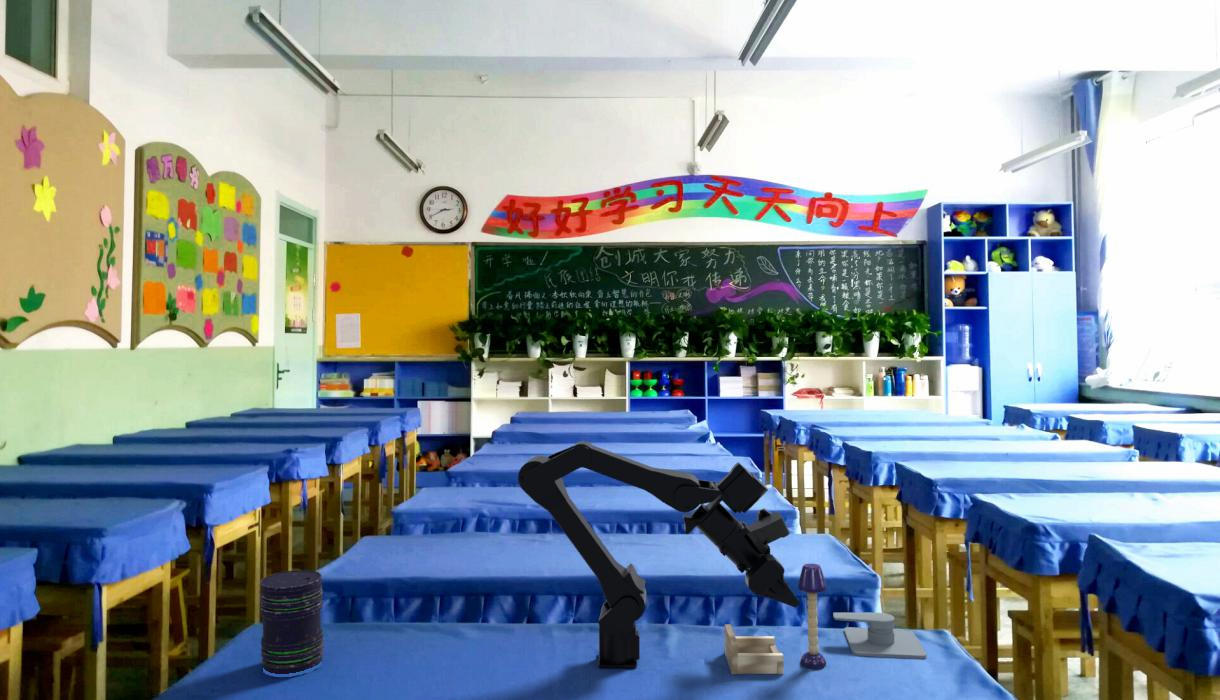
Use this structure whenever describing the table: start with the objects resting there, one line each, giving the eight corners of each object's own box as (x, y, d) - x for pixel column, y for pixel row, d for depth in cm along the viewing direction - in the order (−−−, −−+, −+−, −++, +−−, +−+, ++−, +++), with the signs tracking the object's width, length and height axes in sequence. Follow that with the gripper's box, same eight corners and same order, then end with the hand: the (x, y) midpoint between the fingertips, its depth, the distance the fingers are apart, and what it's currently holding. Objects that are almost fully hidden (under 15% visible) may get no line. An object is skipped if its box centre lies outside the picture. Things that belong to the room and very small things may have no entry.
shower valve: (829, 602, 157) (912, 605, 155) (829, 631, 157) (911, 634, 155) (838, 626, 145) (928, 629, 143) (837, 657, 145) (928, 661, 143)
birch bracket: (731, 674, 137) (731, 644, 137) (724, 652, 146) (724, 624, 146) (783, 674, 137) (783, 644, 137) (773, 652, 146) (773, 624, 146)
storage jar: (250, 678, 137) (248, 587, 136) (276, 654, 146) (274, 569, 146) (310, 678, 136) (309, 587, 136) (332, 654, 146) (331, 570, 146)
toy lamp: (792, 663, 141) (792, 565, 141) (806, 655, 145) (806, 559, 144) (818, 671, 138) (818, 571, 138) (832, 662, 141) (832, 565, 141)
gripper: (769, 510, 131) (840, 579, 131) (750, 487, 150) (812, 547, 150) (719, 560, 132) (790, 629, 132) (707, 531, 150) (769, 591, 150)
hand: (792, 596), depth 141 cm, fingers open, 9 cm apart
